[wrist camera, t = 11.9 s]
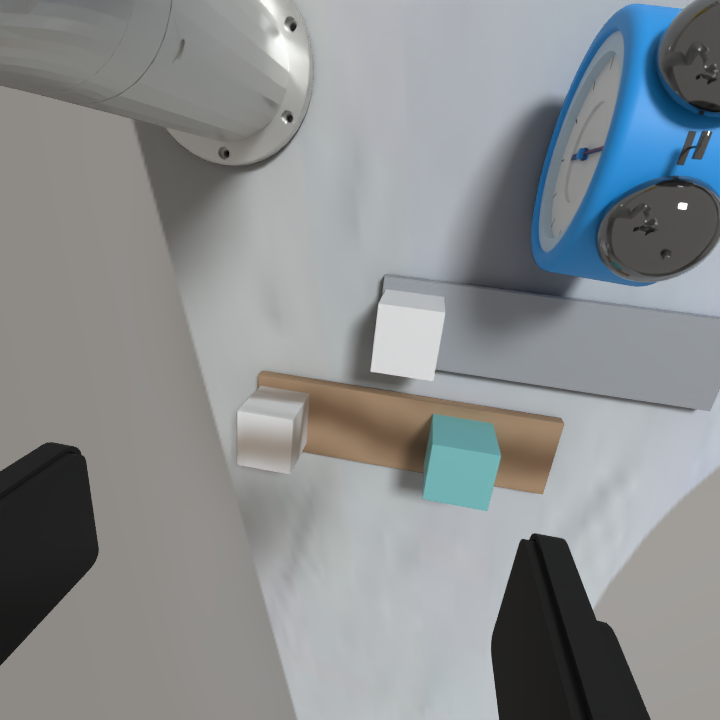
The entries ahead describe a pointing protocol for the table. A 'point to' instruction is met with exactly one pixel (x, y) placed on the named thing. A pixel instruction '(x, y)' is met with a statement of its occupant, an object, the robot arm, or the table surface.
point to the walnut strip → (379, 429)
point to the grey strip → (547, 341)
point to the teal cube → (460, 462)
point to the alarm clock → (636, 152)
